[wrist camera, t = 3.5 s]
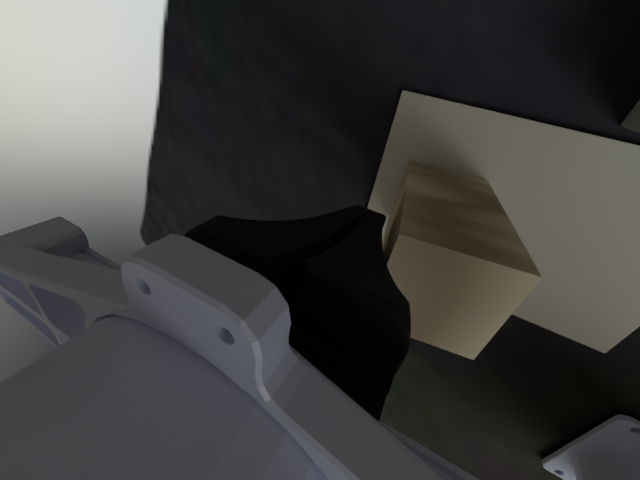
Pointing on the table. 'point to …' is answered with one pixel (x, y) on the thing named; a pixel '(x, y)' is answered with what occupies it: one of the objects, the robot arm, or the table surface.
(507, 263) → the birch block
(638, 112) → the slate block
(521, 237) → the felt mat
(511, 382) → the table surface
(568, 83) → the table surface
